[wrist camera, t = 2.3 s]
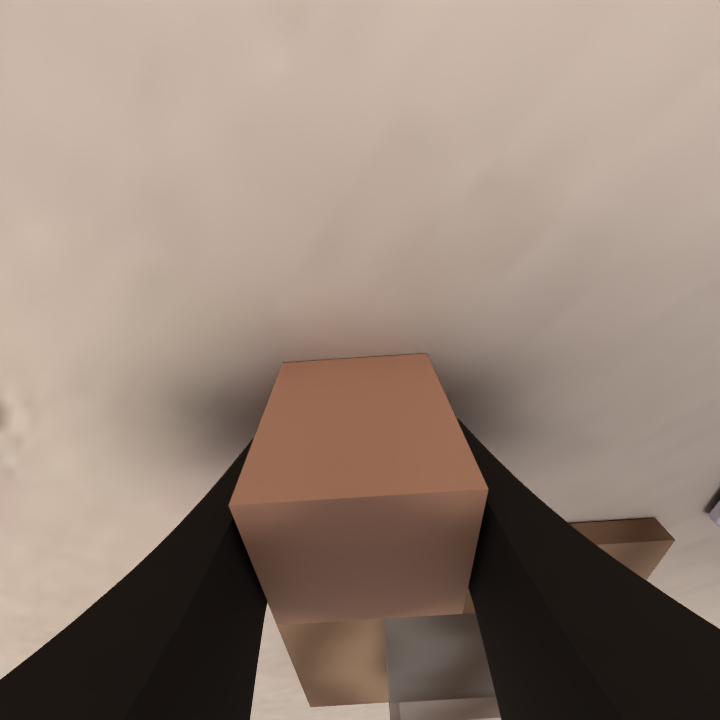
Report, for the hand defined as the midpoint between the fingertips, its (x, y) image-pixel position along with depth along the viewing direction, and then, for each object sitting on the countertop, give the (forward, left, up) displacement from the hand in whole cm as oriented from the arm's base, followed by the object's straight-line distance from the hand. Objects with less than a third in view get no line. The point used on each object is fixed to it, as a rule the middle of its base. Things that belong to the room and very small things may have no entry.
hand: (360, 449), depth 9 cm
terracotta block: (0, 0, -2) cm, 2 cm away
